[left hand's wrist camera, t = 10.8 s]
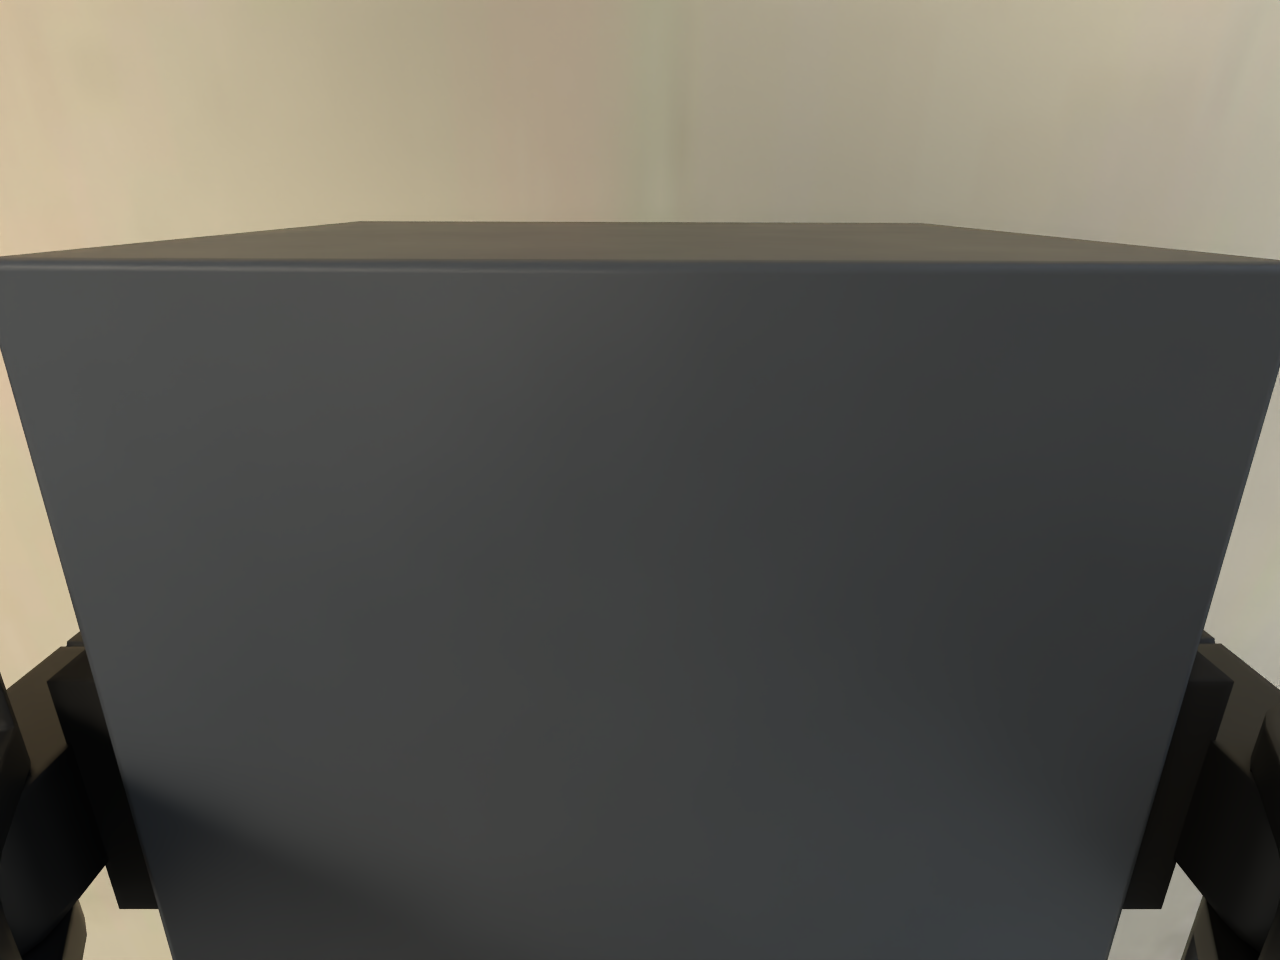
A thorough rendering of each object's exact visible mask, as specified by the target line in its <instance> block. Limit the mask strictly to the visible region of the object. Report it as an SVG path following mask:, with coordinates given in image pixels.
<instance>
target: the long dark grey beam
mask: <svg viewBox="0 0 1280 960" xmlns="http://www.w3.org/2000/svg"><path fill="white" fill-rule="evenodd" d="M0 349H1V352H2V356H3V359H4V363H5V366H6V370H7V373H8V377H9V381H10V384H11V388H12V391H13V395H14V398H15V402H16V405H17V409H18V412H19V416H20V420H21V423H22V427H23V430H24V434H25V437H26V441H27V444H28V448H29V451H30V455H31V459H32V462H33V466H34V469H35V473H36V476H37V480H38V483H39V487H40V490H41V494H42V498H43V501H44V505H45V508H46V512H47V515H48V519H49V522H50V526H51V529H52V533H53V537H54V540H55V544H56V547H57V551H58V554H59V558H60V561H61V565H62V568H63V572H64V576H65V579H66V583H67V586H68V590H69V593H70V597H71V600H72V604H73V608H74V611H75V615H76V618H77V622H78V625H79V629H80V632H81V636H82V639H83V643H84V647H85V650H86V654H87V657H88V661H89V664H90V668H91V671H92V675H93V678H94V682H95V686H96V689H97V693H98V696H99V700H100V703H101V707H102V710H103V714H104V717H105V721H106V725H107V728H108V732H109V735H110V739H111V742H112V746H113V749H114V753H115V756H116V760H117V764H118V767H119V771H120V774H121V778H122V781H123V785H124V788H125V792H126V795H127V799H128V803H129V806H130V810H131V813H132V817H133V820H134V824H135V827H136V831H137V834H138V838H139V842H140V845H141V849H142V852H143V856H144V859H145V863H146V866H147V870H148V873H149V877H150V881H151V884H152V888H153V891H154V895H155V898H156V902H157V905H158V909H159V912H160V916H161V920H162V923H163V927H164V930H165V934H166V937H167V941H168V944H169V948H170V951H171V955H172V959H173V960H1107V959H1108V955H1109V952H1110V949H1111V945H1112V942H1113V938H1114V935H1115V931H1116V928H1117V925H1118V921H1119V918H1120V914H1121V911H1122V907H1123V904H1124V900H1125V897H1126V894H1127V890H1128V887H1129V883H1130V880H1131V876H1132V873H1133V870H1134V866H1135V863H1136V859H1137V856H1138V852H1139V849H1140V845H1141V842H1142V839H1143V835H1144V832H1145V828H1146V825H1147V821H1148V818H1149V815H1150V811H1151V808H1152V804H1153V801H1154V797H1155V794H1156V790H1157V787H1158V784H1159V780H1160V777H1161V773H1162V770H1163V766H1164V763H1165V760H1166V756H1167V753H1168V749H1169V746H1170V742H1171V739H1172V735H1173V732H1174V729H1175V725H1176V722H1177V718H1178V715H1179V711H1180V708H1181V705H1182V701H1183V698H1184V694H1185V691H1186V687H1187V684H1188V680H1189V677H1190V674H1191V670H1192V667H1193V663H1194V660H1195V656H1196V653H1197V650H1198V646H1199V643H1200V639H1201V636H1202V632H1203V629H1204V625H1205V622H1206V619H1207V615H1208V612H1209V608H1210V605H1211V601H1212V598H1213V595H1214V591H1215V588H1216V584H1217V581H1218V577H1219V574H1220V570H1221V567H1222V564H1223V560H1224V557H1225V553H1226V550H1227V546H1228V543H1229V540H1230V536H1231V533H1232V529H1233V526H1234V522H1235V519H1236V515H1237V512H1238V509H1239V505H1240V502H1241V498H1242V495H1243V491H1244V488H1245V484H1246V481H1247V478H1248V474H1249V471H1250V467H1251V464H1252V460H1253V457H1254V454H1255V450H1256V447H1257V443H1258V440H1259V436H1260V433H1261V429H1262V426H1263V423H1264V419H1265V416H1266V412H1267V409H1268V405H1269V402H1270V399H1271V395H1272V392H1273V388H1274V385H1275V381H1276V378H1277V374H1278V371H1279V368H1280V260H1273V259H1263V258H1253V257H1244V256H1234V255H1224V254H1214V253H1205V252H1195V251H1185V250H1176V249H1166V248H1156V247H1147V246H1137V245H1127V244H1118V243H1108V242H1098V241H1088V240H1079V239H1069V238H1059V237H1050V236H1040V235H1030V234H1021V233H1011V232H1001V231H992V230H982V229H972V228H962V227H953V226H943V225H933V224H924V223H696V222H396V221H359V222H349V223H339V224H329V225H318V226H308V227H298V228H288V229H277V230H267V231H257V232H247V233H236V234H226V235H216V236H206V237H196V238H185V239H175V240H165V241H155V242H144V243H134V244H124V245H114V246H104V247H93V248H83V249H73V250H63V251H52V252H42V253H32V254H22V255H11V256H1V257H0Z"/></svg>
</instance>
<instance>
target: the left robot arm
mask: <svg viewBox="0 0 1280 960" xmlns="http://www.w3.org/2000/svg"><path fill="white" fill-rule="evenodd" d="M1176 862H1177V863H1178V865H1179V866H1180V867H1181V868H1182V870H1183V871H1184V872H1185V873H1186V875H1187V876H1188V877H1189V879H1190V880H1191V881H1192V882H1193V884H1194V885H1195V886H1196V887H1197V889H1198V890H1199V891H1200V892H1201V894H1202V895H1203V897H1202V900H1201V903H1200V906H1199V909H1198V911H1197V914H1196V917H1195V920H1194V923H1193V926H1192V929H1191V932H1190V935H1189V938H1188V941H1187V943H1186V946H1185V949H1184V952H1183V955H1182V958H1181V960H1280V690H1279V689H1278V688H1276V687H1275V686H1274V685H1273V684H1271V683H1270V682H1269V681H1268V680H1266V679H1265V678H1264V677H1263V676H1261V675H1260V674H1259V673H1257V672H1256V671H1255V670H1254V669H1252V668H1251V667H1250V666H1249V665H1247V664H1246V663H1245V662H1244V661H1242V660H1241V659H1240V658H1238V657H1237V656H1236V655H1235V654H1233V653H1232V652H1231V651H1230V650H1228V649H1227V648H1226V647H1225V646H1223V645H1222V644H1215V639H1214V638H1213V637H1212V636H1211V635H1209V634H1208V633H1207V632H1206V631H1204V630H1203V632H1202V636H1201V639H1200V643H1199V646H1198V650H1197V653H1196V656H1195V660H1194V663H1193V667H1192V670H1191V674H1190V677H1189V680H1188V684H1187V687H1186V691H1185V694H1184V698H1183V701H1182V705H1181V708H1180V711H1179V715H1178V718H1177V722H1176V725H1175V729H1174V732H1173V735H1172V739H1171V742H1170V746H1169V749H1168V753H1167V756H1166V760H1165V763H1164V766H1163V770H1162V773H1161V777H1160V780H1159V784H1158V787H1157V790H1156V794H1155V797H1154V801H1153V804H1152V808H1151V811H1150V815H1149V818H1148V821H1147V825H1146V828H1145V832H1144V835H1143V839H1142V842H1141V845H1140V849H1139V852H1138V856H1137V859H1136V863H1135V866H1134V870H1133V873H1132V876H1131V880H1130V883H1129V887H1128V890H1127V894H1126V897H1125V900H1124V904H1123V907H1122V909H1161V908H1162V905H1163V902H1164V899H1165V896H1166V893H1167V890H1168V886H1169V883H1170V880H1171V877H1172V874H1173V871H1174V868H1175V865H1176ZM105 865H106V868H107V872H108V875H109V878H110V881H111V884H112V887H113V890H114V893H115V896H116V900H117V903H118V906H119V909H158V905H157V902H156V898H155V895H154V891H153V888H152V884H151V881H150V877H149V873H148V870H147V866H146V863H145V859H144V856H143V852H142V849H141V845H140V842H139V838H138V834H137V831H136V827H135V824H134V820H133V817H132V813H131V810H130V806H129V803H128V799H127V795H126V792H125V788H124V785H123V781H122V778H121V774H120V771H119V767H118V764H117V760H116V756H115V753H114V749H113V746H112V742H111V739H110V735H109V732H108V728H107V725H106V721H105V717H104V714H103V710H102V707H101V703H100V700H99V696H98V693H97V689H96V686H95V682H94V678H93V675H92V671H91V668H90V664H89V661H88V657H87V654H86V650H85V647H84V643H83V639H82V636H81V632H79V633H77V634H76V635H75V636H74V637H72V638H71V639H70V640H69V641H67V646H66V647H60V648H58V649H57V650H56V651H55V652H53V653H52V654H51V655H50V656H48V657H47V658H46V659H45V660H43V661H42V662H41V663H40V664H38V665H37V666H36V667H35V668H33V669H32V670H31V671H30V672H28V673H27V674H26V675H25V676H23V677H22V678H21V679H20V680H18V681H17V682H16V683H15V684H13V685H12V686H11V687H10V688H8V689H7V690H6V688H5V685H4V682H3V679H2V676H1V674H0V960H82V959H83V953H84V948H85V942H86V937H87V932H86V925H85V917H84V914H83V911H82V909H81V906H80V903H79V900H78V899H79V898H80V897H81V895H82V894H83V893H84V892H85V890H86V889H87V888H88V886H89V885H90V884H91V883H92V881H93V880H94V879H95V878H96V876H97V875H98V874H99V872H100V871H101V870H102V869H103V867H104V866H105Z"/></svg>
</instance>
